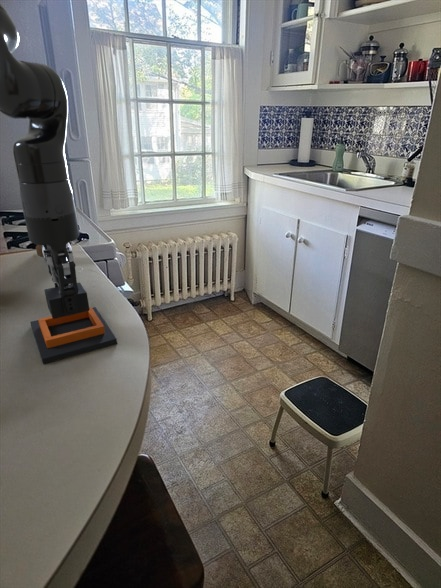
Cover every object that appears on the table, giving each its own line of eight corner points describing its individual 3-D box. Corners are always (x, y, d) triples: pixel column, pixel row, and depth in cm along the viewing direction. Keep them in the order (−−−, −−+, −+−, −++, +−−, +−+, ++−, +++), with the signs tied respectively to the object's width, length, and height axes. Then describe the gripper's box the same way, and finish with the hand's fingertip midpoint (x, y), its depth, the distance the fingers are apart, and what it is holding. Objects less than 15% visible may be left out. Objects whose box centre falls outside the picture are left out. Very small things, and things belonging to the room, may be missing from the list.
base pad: (43, 364, 62) (40, 351, 61) (31, 326, 73) (28, 314, 72) (117, 343, 68) (115, 331, 67) (96, 311, 78) (94, 300, 77)
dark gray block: (52, 319, 65) (49, 300, 63) (48, 307, 69) (44, 289, 67) (89, 310, 67) (86, 292, 66) (82, 299, 71) (80, 282, 70)
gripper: (18, 204, 65) (38, 297, 72) (29, 223, 53) (52, 331, 61) (65, 199, 68) (80, 288, 75) (85, 216, 57) (100, 319, 64)
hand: (67, 307), depth 68 cm, fingers closed on dark gray block, 5 cm apart
